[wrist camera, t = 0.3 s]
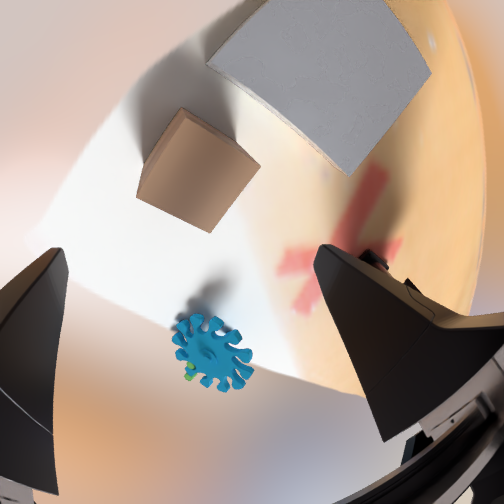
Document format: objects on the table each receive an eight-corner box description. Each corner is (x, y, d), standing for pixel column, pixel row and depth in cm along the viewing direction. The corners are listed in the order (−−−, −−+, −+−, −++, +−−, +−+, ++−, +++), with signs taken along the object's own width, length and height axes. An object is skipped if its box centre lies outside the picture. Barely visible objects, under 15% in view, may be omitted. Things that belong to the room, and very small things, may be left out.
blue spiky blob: (198, 300, 25) (268, 376, 24) (227, 281, 31) (286, 345, 30) (153, 347, 30) (208, 407, 29) (180, 327, 35) (229, 380, 34)
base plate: (413, 69, 18) (431, 73, 16) (333, 166, 23) (349, 177, 21) (319, -41, 10) (335, -49, 8) (205, 64, 15) (210, 61, 13)
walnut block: (236, 142, 19) (261, 166, 15) (198, 193, 21) (210, 233, 16) (181, 106, 16) (185, 117, 12) (143, 164, 18) (135, 197, 13)
